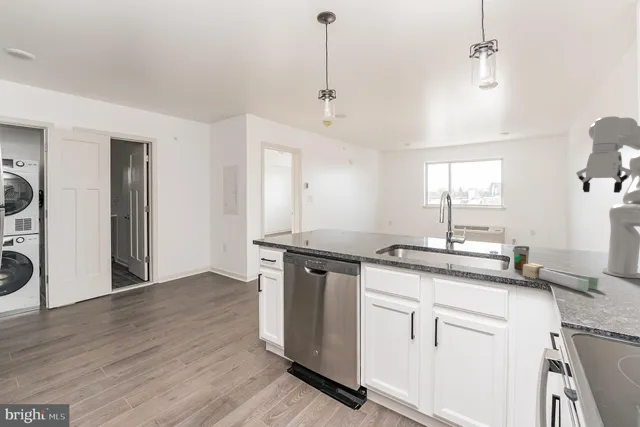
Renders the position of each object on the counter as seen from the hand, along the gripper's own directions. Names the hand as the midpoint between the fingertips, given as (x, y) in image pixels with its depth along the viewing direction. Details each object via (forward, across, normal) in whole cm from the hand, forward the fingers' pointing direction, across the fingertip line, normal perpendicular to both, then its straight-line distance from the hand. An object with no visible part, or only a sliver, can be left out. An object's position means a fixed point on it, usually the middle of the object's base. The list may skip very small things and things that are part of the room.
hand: (601, 192), depth 123 cm
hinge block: (+37, +15, +16) cm, 43 cm away
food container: (+37, +26, +6) cm, 46 cm away
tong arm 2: (+36, +3, +13) cm, 39 cm away
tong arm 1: (+36, +3, +18) cm, 41 cm away
